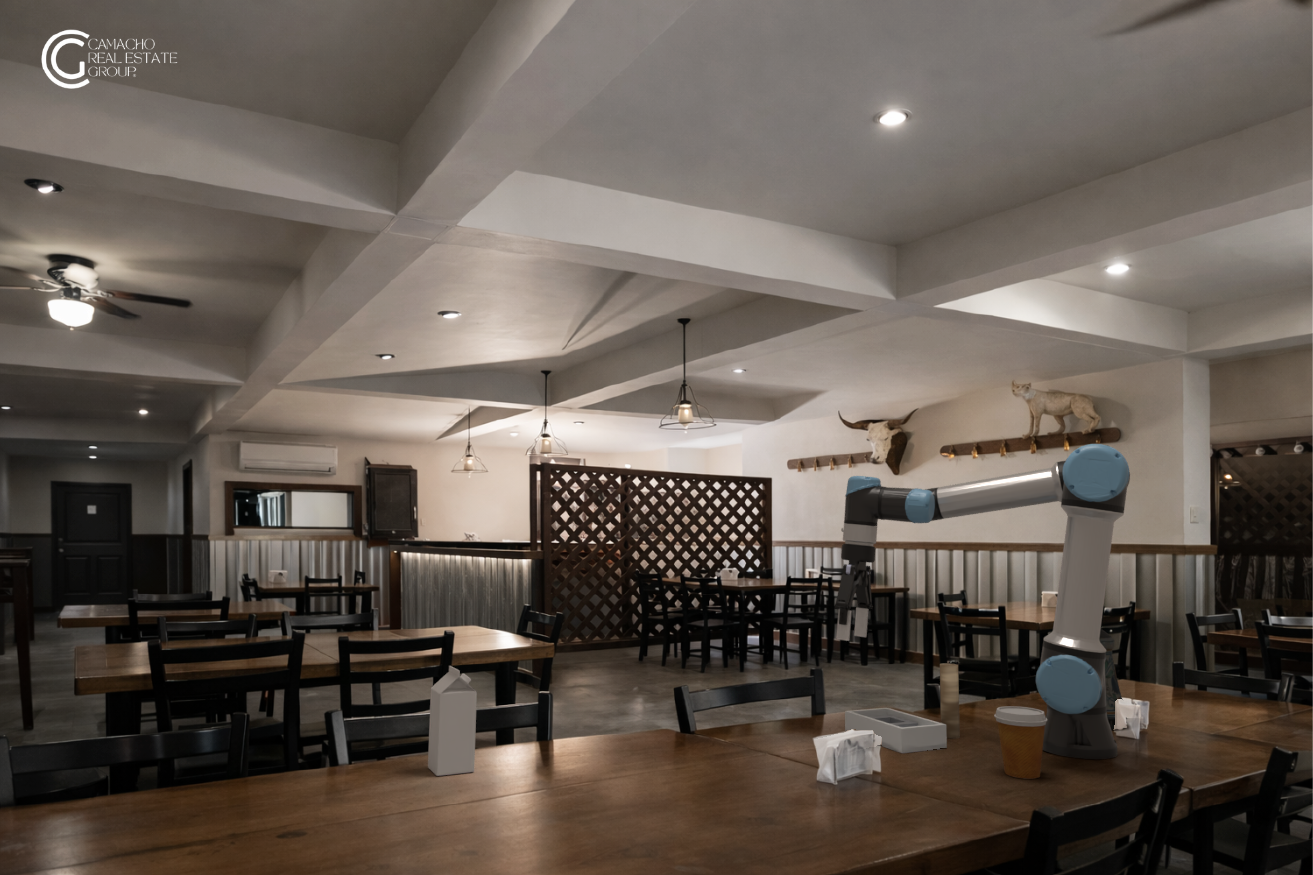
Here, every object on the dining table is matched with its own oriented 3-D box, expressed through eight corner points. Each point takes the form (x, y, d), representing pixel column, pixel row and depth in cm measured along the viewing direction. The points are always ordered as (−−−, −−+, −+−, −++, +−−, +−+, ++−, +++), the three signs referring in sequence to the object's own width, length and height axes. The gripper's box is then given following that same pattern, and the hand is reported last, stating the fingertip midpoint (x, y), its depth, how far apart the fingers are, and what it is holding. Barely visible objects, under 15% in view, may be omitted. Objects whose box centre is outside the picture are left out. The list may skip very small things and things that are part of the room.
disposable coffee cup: (1057, 781, 169) (1055, 715, 170) (1006, 780, 169) (1004, 714, 170) (1037, 768, 178) (1035, 706, 180) (988, 767, 179) (987, 705, 180)
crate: (946, 748, 194) (946, 724, 195) (901, 753, 189) (901, 728, 190) (887, 729, 212) (887, 707, 213) (845, 733, 208) (844, 710, 208)
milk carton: (436, 777, 167) (440, 671, 169) (427, 767, 173) (431, 666, 175) (474, 772, 170) (477, 669, 172) (464, 763, 177) (467, 664, 178)
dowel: (963, 737, 205) (961, 665, 207) (949, 738, 203) (948, 666, 205) (951, 733, 209) (949, 663, 210) (937, 735, 207) (936, 663, 209)
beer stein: (1126, 734, 211) (1122, 625, 213) (1037, 724, 221) (1033, 620, 223) (1130, 721, 225) (1126, 619, 228) (1046, 712, 235) (1043, 615, 237)
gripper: (858, 544, 219) (851, 632, 217) (825, 540, 197) (818, 638, 195) (889, 547, 215) (882, 637, 213) (859, 543, 194) (851, 643, 192)
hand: (851, 638), depth 204 cm, fingers open, 13 cm apart
